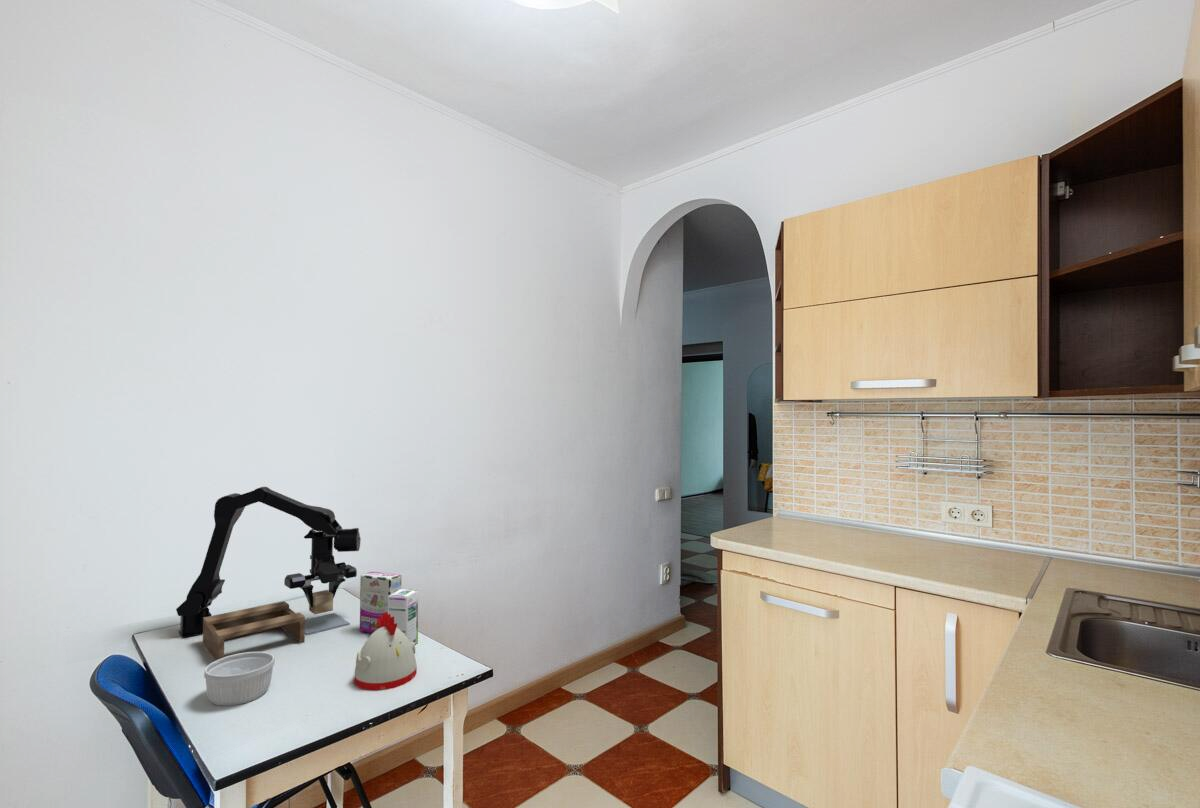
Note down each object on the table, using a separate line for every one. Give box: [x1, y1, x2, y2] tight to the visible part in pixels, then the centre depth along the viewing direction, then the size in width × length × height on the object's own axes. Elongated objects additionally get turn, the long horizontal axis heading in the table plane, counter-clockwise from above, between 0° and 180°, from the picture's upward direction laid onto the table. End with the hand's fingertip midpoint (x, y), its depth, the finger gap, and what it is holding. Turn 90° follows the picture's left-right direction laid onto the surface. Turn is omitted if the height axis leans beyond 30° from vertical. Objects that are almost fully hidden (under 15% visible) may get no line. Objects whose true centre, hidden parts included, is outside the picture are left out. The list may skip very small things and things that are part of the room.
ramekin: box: [203, 651, 276, 707], centre depth 126 cm, size 13×13×7 cm
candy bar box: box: [359, 571, 402, 635], centre depth 163 cm, size 11×5×16 cm, turn 68°
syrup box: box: [388, 588, 419, 645], centre depth 153 cm, size 6×6×14 cm
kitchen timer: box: [353, 612, 418, 691], centre depth 136 cm, size 14×14×15 cm
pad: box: [305, 612, 350, 636], centre depth 169 cm, size 12×12×1 cm
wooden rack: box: [202, 600, 306, 661], centre depth 155 cm, size 20×18×7 cm
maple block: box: [308, 589, 334, 615], centre depth 169 cm, size 5×5×5 cm
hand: (320, 605), depth 169 cm, fingers closed on maple block, 5 cm apart
